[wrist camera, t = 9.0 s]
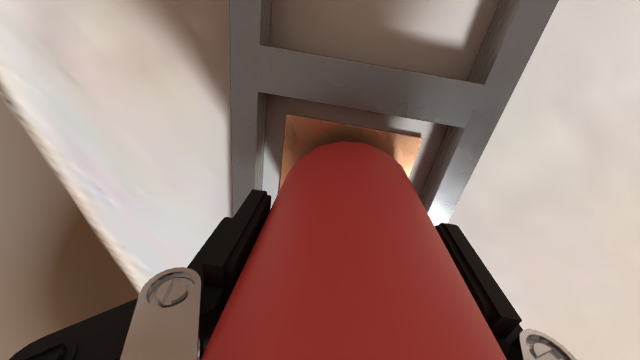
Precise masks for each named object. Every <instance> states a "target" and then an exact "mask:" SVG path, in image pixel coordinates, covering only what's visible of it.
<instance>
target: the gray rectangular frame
mask: <svg viewBox="0 0 640 360" xmlns="http://www.w3.org/2000/svg"><path fill="white" fill-rule="evenodd" d="M558 1H559V0H500V3H499V5H498V8H497V10H496V13H495V15H494V17H493V20H492V22H491V25H490V27H489V30H488V32H487V35H486V37H485V39H484V42H483V44H482V47H481V49H480V52H479V54H478V57H477V59H476V61H475V64H474V66H473V69H472V71H471V74H470V76H469V79H468V81H463V80H457V79H452V78H446V77H440V76H435V75H429V74H423V73H418V72H412V71H406V70H401V69H395V68H389V67H384V66H378V65H372V64H367V63H361V62H355V61H350V60H344V59H338V58H333V57H327V56H321V55H316V54H310V53H304V52H299V51H293V50H287V49H282V48H276V47H270V46H269V43H270V23H271V4H272V0H230V70H231V139H232V208H233V217H234V215H235V214H236V212H237V211H238V209H239V208H240V207H241V205H242V204H243V202H244V201H245V199H246V198H247V196H248V195H249V193H250V192H251V190H252V189H256V190H262V179H263V159H264V140H265V121H266V101H267V93H268V94H274V95H280V96H285V97H291V98H297V99H302V100H308V101H314V102H320V103H325V104H331V105H337V106H342V107H348V108H354V109H359V110H365V111H371V112H376V113H382V114H388V115H393V116H399V117H405V118H410V119H416V120H422V121H427V122H433V123H439V124H445V125H449V127H448V130H447V132H446V135H445V137H444V140H443V142H442V144H441V147H440V149H439V152H438V154H437V157H436V159H435V162H434V164H433V166H432V169H431V171H430V174H429V176H428V179H427V181H426V184H425V186H424V188H423V191H422V193H421V196H420V200H421V202H422V204H423V206H424V208H425V210H426V211H427V213H428V215H429V217H430V219H431V221H432V222H433V224H434V226H436V225H439V224H440V223H448V221H449V219H450V217H451V215H452V213H453V211H454V209H455V207H456V205H457V203H458V201H459V199H460V197H461V195H462V193H463V191H464V189H465V187H466V185H467V183H468V181H469V179H470V177H471V175H472V173H473V171H474V169H475V167H476V165H477V163H478V161H479V159H480V157H481V155H482V153H483V151H484V149H485V147H486V145H487V143H488V141H489V139H490V137H491V135H492V133H493V131H494V129H495V127H496V125H497V123H498V121H499V119H500V117H501V115H502V113H503V111H504V109H505V107H506V105H507V103H508V101H509V99H510V97H511V95H512V93H513V91H514V89H515V87H516V85H517V83H518V81H519V79H520V77H521V75H522V73H523V71H524V69H525V67H526V65H527V63H528V61H529V59H530V57H531V55H532V53H533V51H534V49H535V47H536V45H537V43H538V41H539V39H540V37H541V35H542V33H543V31H544V29H545V27H546V25H547V23H548V21H549V19H550V17H551V15H552V13H553V11H554V9H555V7H556V5H557V3H558ZM422 140H423V138H421V137H415V136H410V135H404V134H398V133H393V132H387V131H381V130H376V129H370V128H364V127H359V126H353V125H347V124H341V123H336V122H330V121H324V120H319V119H313V118H307V117H302V116H296V115H290V114H287V115H286V125H285V136H284V147H283V158H282V169H281V180H280V189H281V187H282V184H283V182H284V180H285V178H286V176H287V174H288V172H289V171H290V169H291V168H292V167H293V166H294V165H295V164H296V162H297V161H298V160H299V159H300V158H301V157H302V156H304V155H305V154H307V153H309V152H310V151H312V150H314V149H316V148H317V147H319V146H323V145H327V144H332V143H336V142H341V141H345V142H357V143H366V144H368V145H371V146H373V147H376V148H378V149H380V150H383V151H385V152H387V153H388V154H389V155H390V156H391V157H392V158H394V159H395V160H396V161H397V162H398V163H399V164H400V165H401V166H402V167H403V169H404V171H405V173H406V174H407V176H408V178H409V175H410V172H411V170H412V167H413V164H414V162H415V159H416V156H417V153H418V151H419V148H420V145H421V143H422Z"/></svg>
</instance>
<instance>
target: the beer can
mask: <svg viewBox="0 0 640 360" xmlns="http://www.w3.org/2000/svg"><path fill="white" fill-rule="evenodd" d="M200 360H507V359H506V357H505V355H504V354H503V352H502V350H501V348H500V346H499V344H498V343H497V341H496V339H495V337H494V335H493V333H492V331H491V330H490V328H489V326H488V324H487V322H486V320H485V319H484V317H483V315H482V313H481V311H480V309H479V307H478V306H477V304H476V302H475V300H474V298H473V296H472V295H471V293H470V291H469V289H468V287H467V285H466V283H465V282H464V280H463V278H462V276H461V274H460V272H459V271H458V269H457V267H456V265H455V263H454V261H453V259H452V258H451V256H450V254H449V252H448V250H447V248H446V246H445V245H444V243H443V241H442V239H441V237H440V235H439V234H438V232H437V230H436V228H435V226H434V224H433V222H432V221H431V219H430V217H429V215H428V213H427V211H426V210H425V208H424V206H423V204H422V202H421V200H420V198H419V197H418V195H417V193H416V191H415V189H414V187H413V186H412V184H411V182H410V180H409V178H408V176H407V174H406V173H405V171H404V169H403V167H402V166H401V165H400V164H399V163H398V162H397V161H396V160H395V159H394V158H392V157H391V156H390V155H389V154H388V153H387V152H385V151H383V150H380V149H378V148H376V147H373V146H371V145H368V144H366V143H357V142H345V141H341V142H336V143H332V144H327V145H323V146H319V147H317V148H316V149H314V150H312V151H310V152H309V153H307V154H305V155H304V156H302V157H301V158H300V159H299V160H298V161H297V162H296V164H295V165H294V166H293V167H292V168H291V169H290V171H289V172H288V174H287V176H286V178H285V180H284V182H283V184H282V187H281V189H280V191H279V193H278V195H277V197H276V199H275V201H274V204H273V206H272V208H271V210H270V212H269V214H268V216H267V219H266V221H265V223H264V225H263V227H262V229H261V231H260V233H259V236H258V238H257V240H256V242H255V244H254V246H253V248H252V251H251V253H250V255H249V257H248V259H247V261H246V263H245V265H244V268H243V270H242V272H241V274H240V276H239V278H238V280H237V283H236V285H235V287H234V289H233V291H232V293H231V295H230V297H229V300H228V302H227V304H226V306H225V308H224V310H223V312H222V314H221V317H220V319H219V321H218V323H217V325H216V327H215V329H214V332H213V334H212V336H211V338H210V340H209V342H208V344H207V346H206V349H205V351H204V353H203V355H202V357H201V359H200Z"/></svg>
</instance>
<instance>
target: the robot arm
mask: <svg viewBox="0 0 640 360" xmlns="http://www.w3.org/2000/svg"><path fill="white" fill-rule="evenodd" d="M270 207H271V196H270V195H267V192H266V191H262V190H256V189H252V190H251V192H250V193H249V195H248V196H247V198H246V199H245V201H244V202H243V204H242V205H241V207H240V208H239V209H238V211H237V212H236V214H235V215H234V217H233V218H230V217H225V218H224V219H223V220H222V221H221V222H220V224H219V225H218V226H217V228H216V229H215V230H214V232H213V233H212V234H211V236H210V237H209V238H208V240H207V241H206V243H205V244H204V245H203V247H202V248H201V249H200V251H199V252H198V253H197V255H196V256H195V258H194V259H193V260H192V262H191V263H190V264H189V266H188V267H187V268H184V267H180V268H172V269H168V270H165V271H163V272H161V273H159V274H157V275H155V276H154V277H152V278H151V279H150V280H149V281H148V282H147V283H146V284H145V285H144V286H143V288H142V290H141V292H140V294H139V297H138V298H137V299H135V300H132V301H130V302H127V303H125V304H123V305H120V306H118V307H115V308H113V309H110V310H108V311H105V312H103V313H101V314H98V315H96V316H93V317H91V318H89V319H86V320H84V321H81V322H79V323H76V324H74V325H71V326H69V327H67V328H64V329H62V330H59V331H57V332H54V333H52V334H49V335H47V336H45V337H43V338H40V339H38V340H36V341H35V342H32V343H30V344H29V345H28V346H26V347H24V348H23V349H22V350H20V351H19V352H17V353H16V354H15V355H14V356H13V357H11V358H10V359H9V360H200V359H201V357H202V355H203V353H204V351H205V349H206V346H207V344H208V342H209V340H210V338H211V336H212V334H213V332H214V329H215V327H216V325H217V323H218V321H219V319H220V317H221V314H222V312H223V310H224V308H225V306H226V304H227V302H228V300H229V297H230V295H231V293H232V291H233V289H234V287H235V285H236V283H237V280H238V278H239V276H240V274H241V272H242V270H243V268H244V265H245V263H246V261H247V259H248V257H249V255H250V253H251V251H252V248H253V246H254V244H255V242H256V240H257V238H258V236H259V233H260V231H261V229H262V227H263V225H264V223H265V221H266V219H267V216H268V214H269V212H270ZM435 228H436V230H437V232H438V234H439V235H440V237H441V239H442V241H443V243H444V245H445V246H446V248H447V250H448V252H449V254H450V256H451V258H452V259H453V261H454V263H455V265H456V267H457V269H458V271H459V272H460V274H461V276H462V278H463V280H464V282H465V283H466V285H467V287H468V289H469V291H470V293H471V295H472V296H473V298H474V300H475V302H476V304H477V306H478V307H479V309H480V311H481V313H482V315H483V317H484V319H485V320H486V322H487V324H488V326H489V328H490V330H491V331H492V333H493V335H494V337H495V339H496V341H497V343H498V344H499V346H500V348H501V350H502V352H503V354H504V355H505V357H506V359H507V360H576V359H575V358H574V356H573V355H572V354H571V353H570V352H569V351H568V350H567V349H566V348H565V347H564V346H562V345H561V344H560V343H558V342H557V341H556V340H554V339H553V338H551V337H549V336H548V335H546V334H544V333H542V332H539V331H537V330H532V329H526V330H523V329H522V328H521V326H520V325H519V323H520V322H521V321H522V320H521V318H520V317H519V315H518V314H517V312H516V311H515V309H514V308H513V306H512V305H511V303H510V302H509V300H508V299H507V298H506V296H505V295H504V293H503V292H502V290H501V289H500V287H499V286H498V284H497V283H496V281H495V280H494V278H493V277H492V275H491V274H490V273H489V271H488V270H487V268H486V267H485V265H484V264H483V262H482V261H481V259H480V258H479V256H478V255H477V253H476V252H475V250H474V249H473V248H472V246H471V245H470V243H469V242H468V240H467V239H466V237H465V236H464V234H463V233H462V231H461V230H460V228H459V227H458V226H457V225H453V224H447V223H440V224H439V225H436V226H435Z"/></svg>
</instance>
